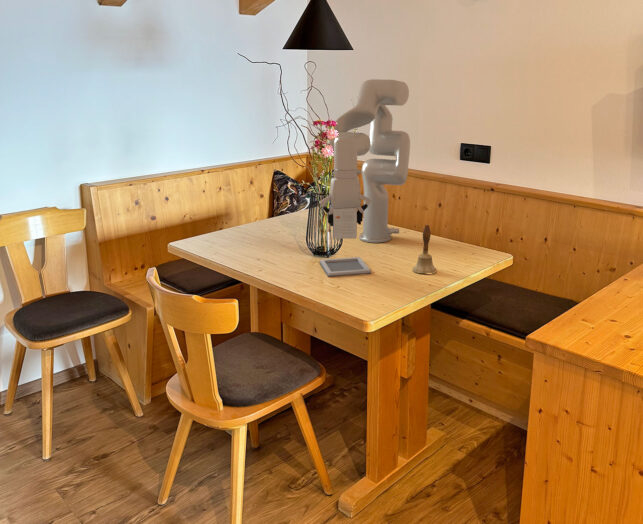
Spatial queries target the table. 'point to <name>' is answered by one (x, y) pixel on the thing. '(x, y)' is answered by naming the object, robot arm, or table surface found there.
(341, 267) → the docking base
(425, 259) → the hand bell
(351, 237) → the small box
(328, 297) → the table surface
